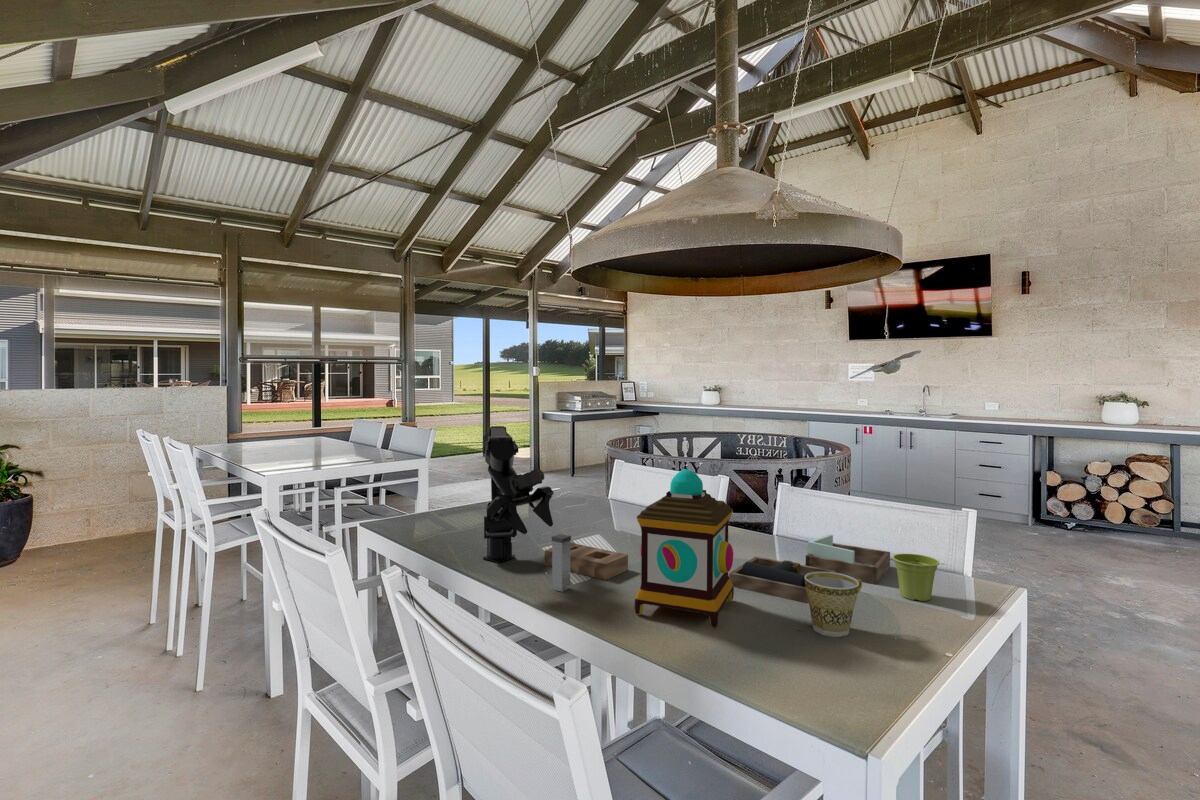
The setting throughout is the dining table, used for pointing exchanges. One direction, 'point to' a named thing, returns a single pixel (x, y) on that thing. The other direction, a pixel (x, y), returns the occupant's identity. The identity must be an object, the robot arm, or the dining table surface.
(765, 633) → the dining table surface
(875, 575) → the brown shallow square box
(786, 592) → the wooden tray
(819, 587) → the ceramic cup
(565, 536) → the block
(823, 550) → the l-shaped corner panel
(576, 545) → the bit block
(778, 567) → the pipe connector
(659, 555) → the decorative lantern
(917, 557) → the plant pot
